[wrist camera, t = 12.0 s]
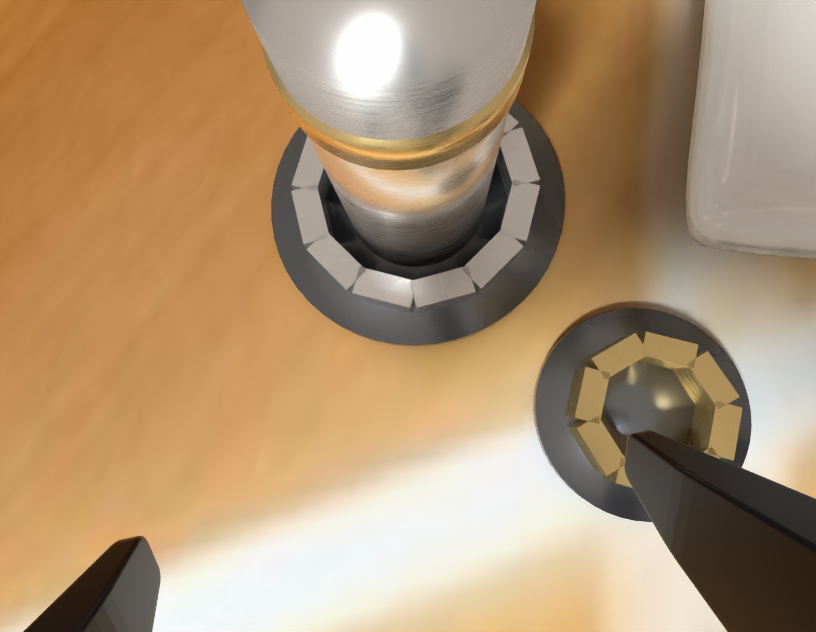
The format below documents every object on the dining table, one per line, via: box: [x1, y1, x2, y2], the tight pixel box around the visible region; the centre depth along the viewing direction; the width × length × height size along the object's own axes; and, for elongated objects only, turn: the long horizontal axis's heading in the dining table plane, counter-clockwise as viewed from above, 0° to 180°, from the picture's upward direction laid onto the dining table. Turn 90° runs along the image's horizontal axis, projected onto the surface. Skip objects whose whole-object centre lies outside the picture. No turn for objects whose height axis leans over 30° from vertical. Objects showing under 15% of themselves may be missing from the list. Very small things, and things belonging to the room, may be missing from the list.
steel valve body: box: [242, 0, 537, 267], centre depth 16 cm, size 7×7×13 cm
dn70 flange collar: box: [271, 100, 565, 346], centre depth 22 cm, size 14×14×2 cm
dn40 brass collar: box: [533, 308, 751, 522], centre depth 20 cm, size 9×9×2 cm
